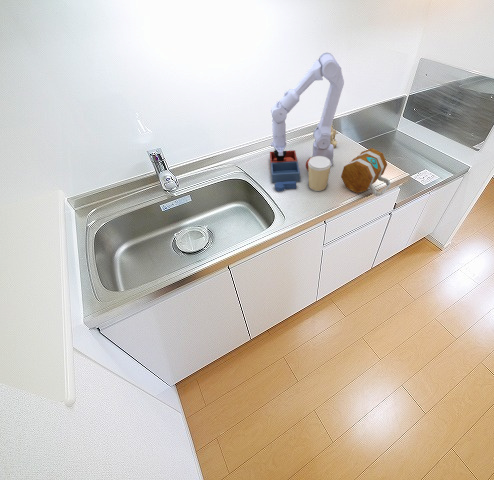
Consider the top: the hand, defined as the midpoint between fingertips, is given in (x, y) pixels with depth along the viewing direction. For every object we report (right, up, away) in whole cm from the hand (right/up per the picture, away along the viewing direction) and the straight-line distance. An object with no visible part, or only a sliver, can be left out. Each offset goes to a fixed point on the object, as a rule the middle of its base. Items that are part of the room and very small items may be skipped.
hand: (280, 161), depth 130 cm
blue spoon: (+3, -15, -11) cm, 18 cm away
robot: (+24, +13, +14) cm, 30 cm away
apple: (+16, -6, -3) cm, 17 cm away
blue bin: (+2, -8, -5) cm, 10 cm away
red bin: (+2, -1, +2) cm, 2 cm away
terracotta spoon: (+1, -1, +1) cm, 2 cm away
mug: (+33, -15, -18) cm, 41 cm away
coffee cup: (+17, -14, -9) cm, 24 cm away
